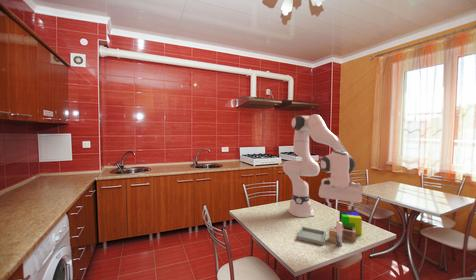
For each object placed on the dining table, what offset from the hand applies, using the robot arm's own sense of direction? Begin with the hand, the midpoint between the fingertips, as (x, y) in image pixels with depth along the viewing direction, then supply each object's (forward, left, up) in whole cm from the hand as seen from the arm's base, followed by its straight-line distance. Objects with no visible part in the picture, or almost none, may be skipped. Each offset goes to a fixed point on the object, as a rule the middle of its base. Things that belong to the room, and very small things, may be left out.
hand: (339, 208), depth 109 cm
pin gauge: (0, 0, -20) cm, 20 cm away
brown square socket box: (-12, +4, -20) cm, 23 cm away
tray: (-2, -14, -20) cm, 24 cm away
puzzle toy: (-22, +5, -20) cm, 30 cm away
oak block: (-4, -3, -20) cm, 20 cm away
